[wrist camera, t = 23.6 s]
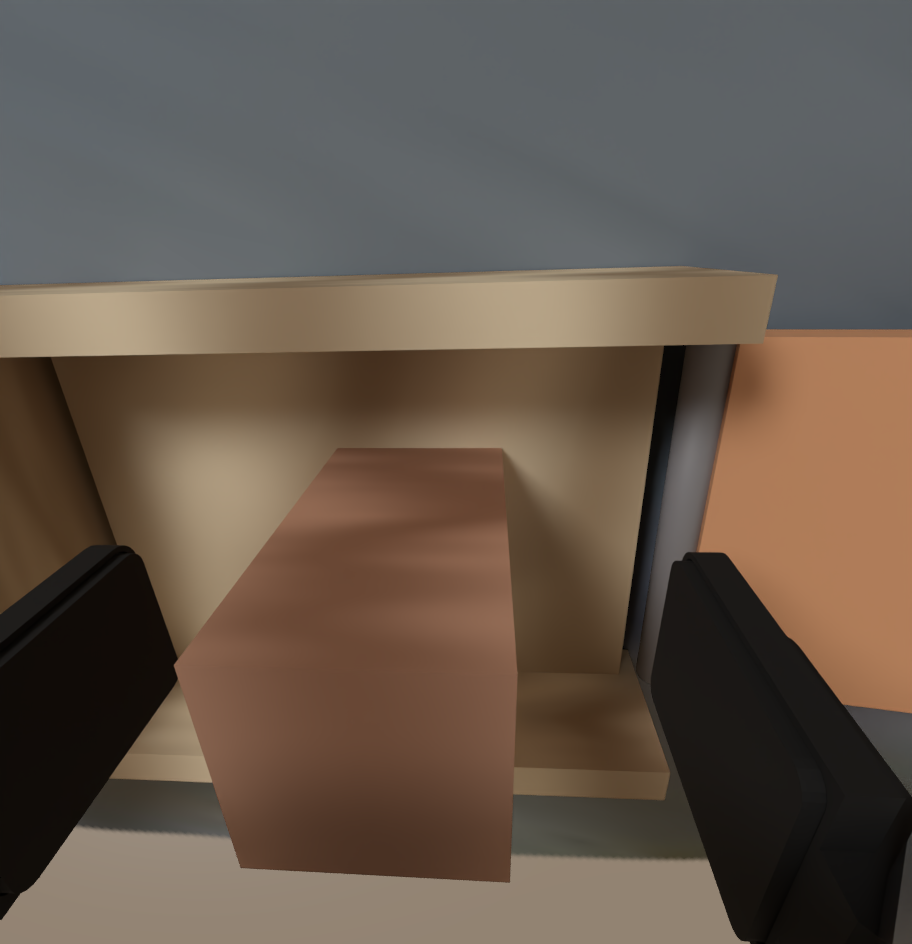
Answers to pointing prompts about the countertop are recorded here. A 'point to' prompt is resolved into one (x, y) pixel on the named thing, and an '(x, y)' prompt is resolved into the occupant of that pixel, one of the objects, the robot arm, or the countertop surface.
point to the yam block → (369, 675)
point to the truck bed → (363, 426)
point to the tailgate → (802, 497)
